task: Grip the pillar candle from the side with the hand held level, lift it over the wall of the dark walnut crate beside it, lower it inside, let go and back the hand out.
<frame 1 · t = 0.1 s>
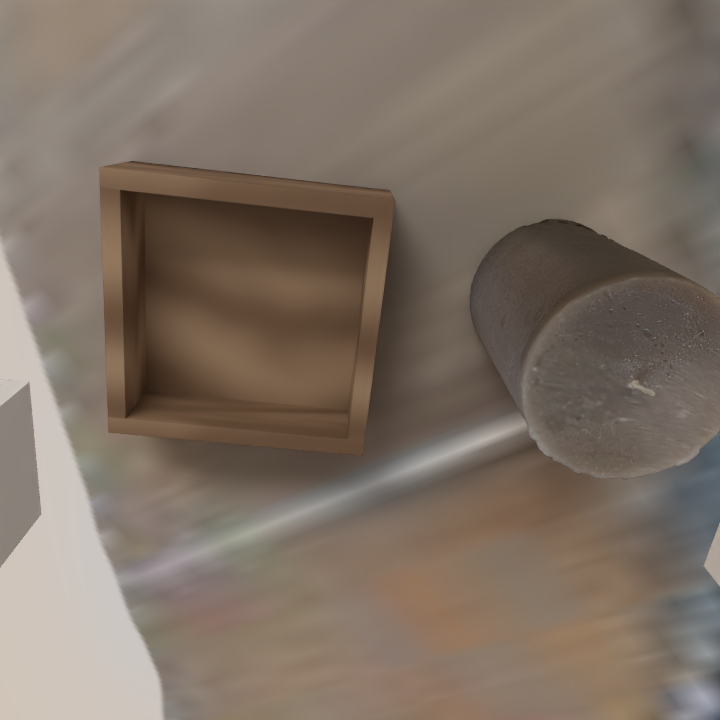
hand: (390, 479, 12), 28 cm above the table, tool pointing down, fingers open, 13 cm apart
pillar candle: (543, 297, 40), on the table
walnut crate: (255, 299, 39), on the table
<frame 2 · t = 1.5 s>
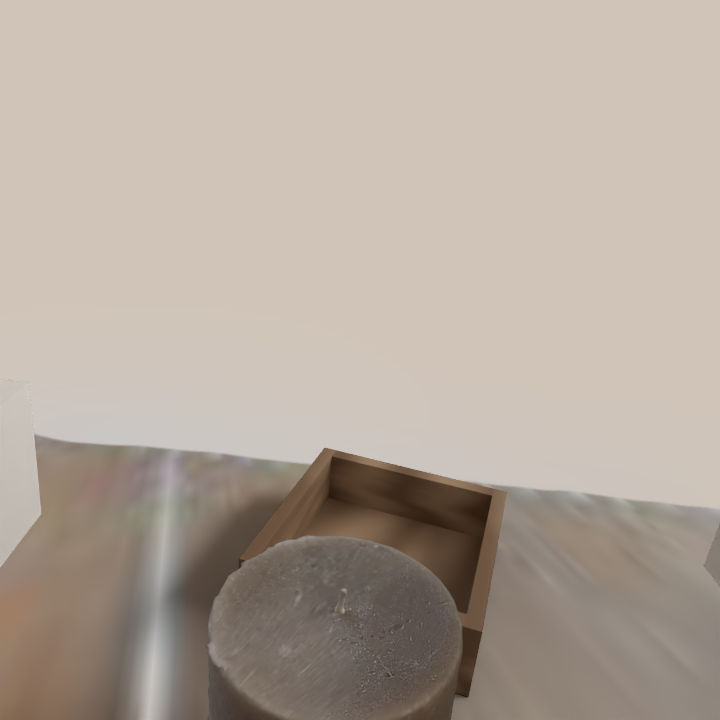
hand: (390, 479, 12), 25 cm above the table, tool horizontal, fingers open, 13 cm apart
walnut crate: (380, 578, 45), on the table
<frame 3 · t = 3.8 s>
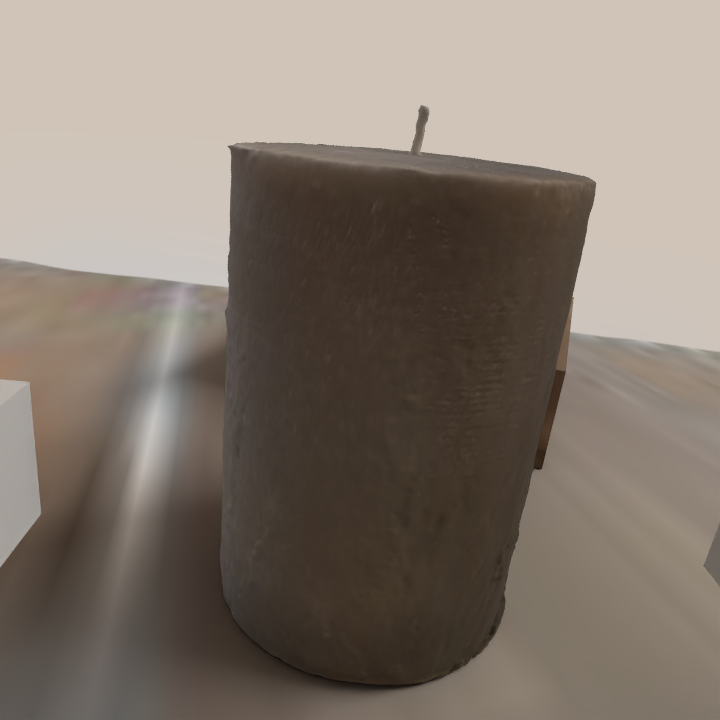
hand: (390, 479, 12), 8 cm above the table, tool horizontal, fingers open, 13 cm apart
pillar candle: (358, 574, 22), on the table
walnut crate: (425, 379, 38), on the table
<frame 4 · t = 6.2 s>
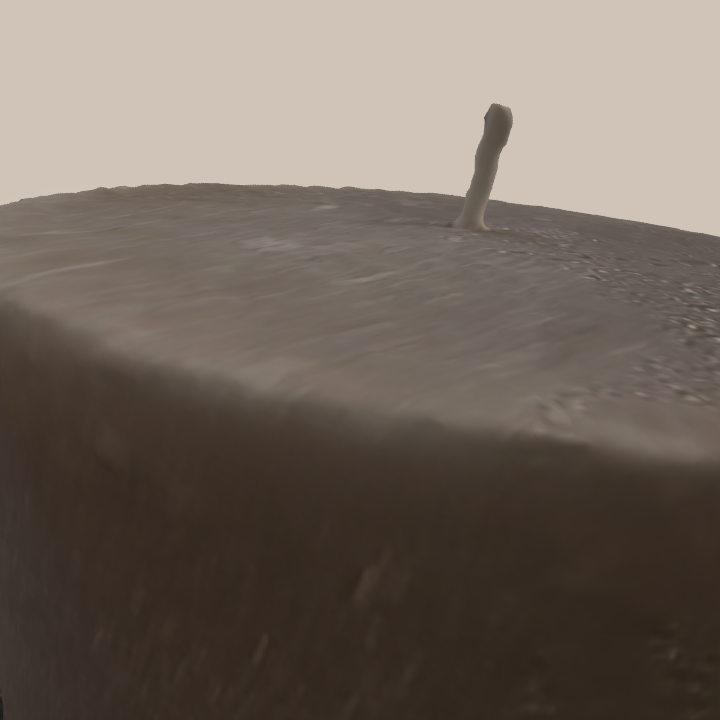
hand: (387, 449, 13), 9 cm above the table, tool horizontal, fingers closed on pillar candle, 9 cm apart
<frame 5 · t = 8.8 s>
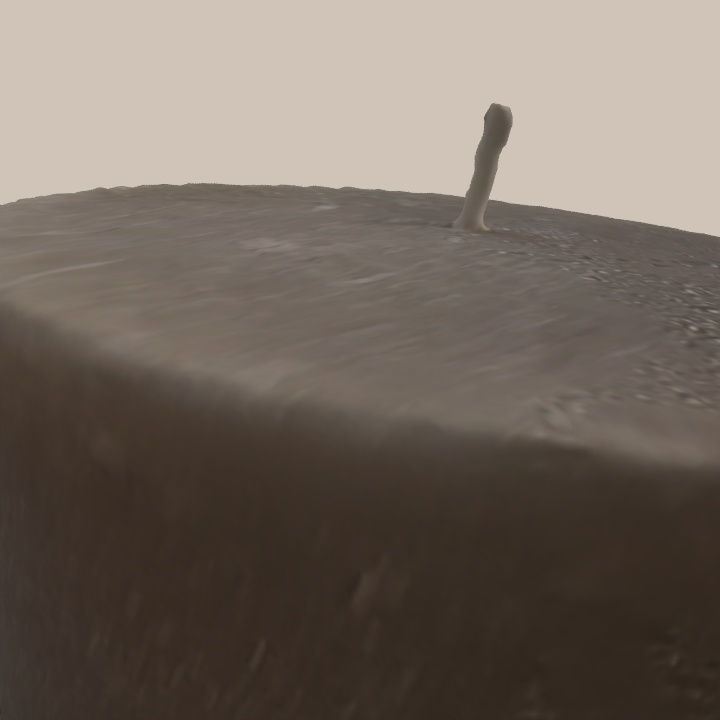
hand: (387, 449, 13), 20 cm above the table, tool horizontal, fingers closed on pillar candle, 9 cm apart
when the fingers open (11 cm above the table, at t = 11.8 s): pillar candle drops 1 cm, resting on walnut crate.
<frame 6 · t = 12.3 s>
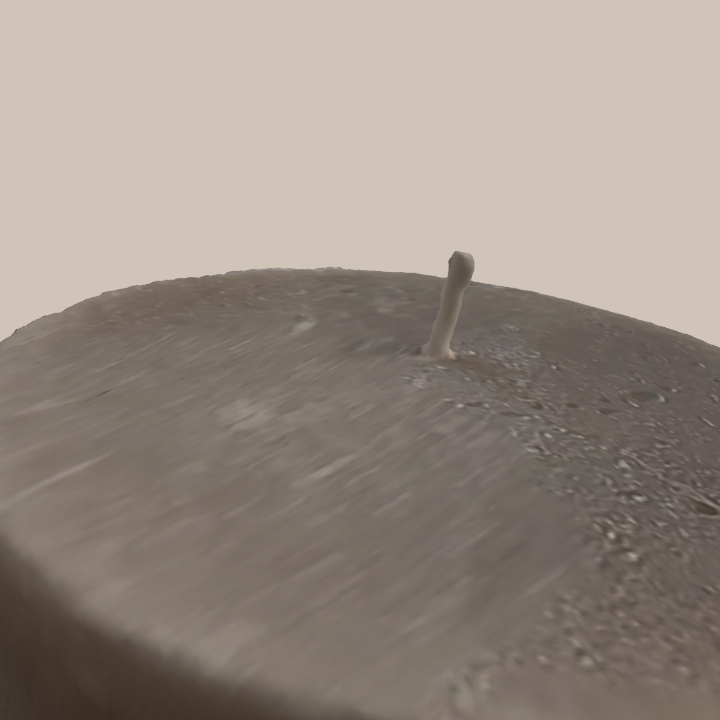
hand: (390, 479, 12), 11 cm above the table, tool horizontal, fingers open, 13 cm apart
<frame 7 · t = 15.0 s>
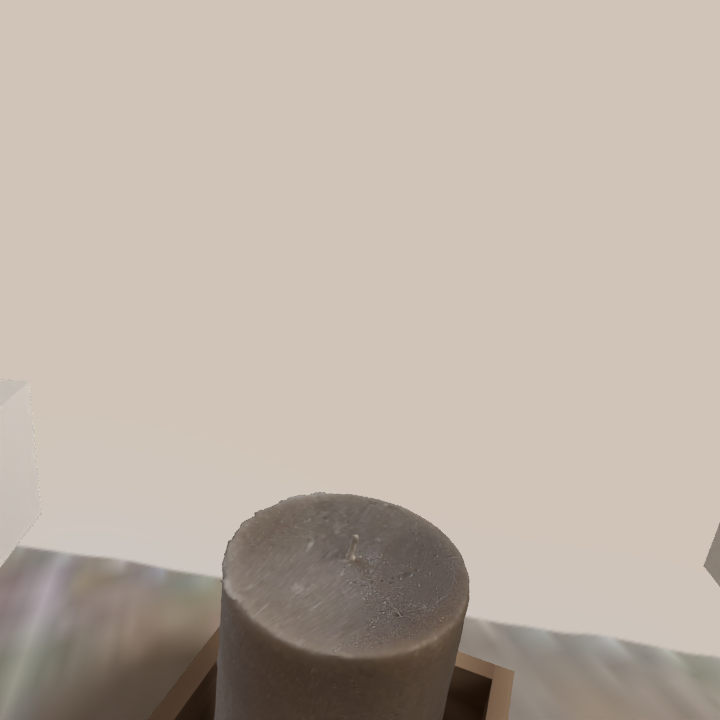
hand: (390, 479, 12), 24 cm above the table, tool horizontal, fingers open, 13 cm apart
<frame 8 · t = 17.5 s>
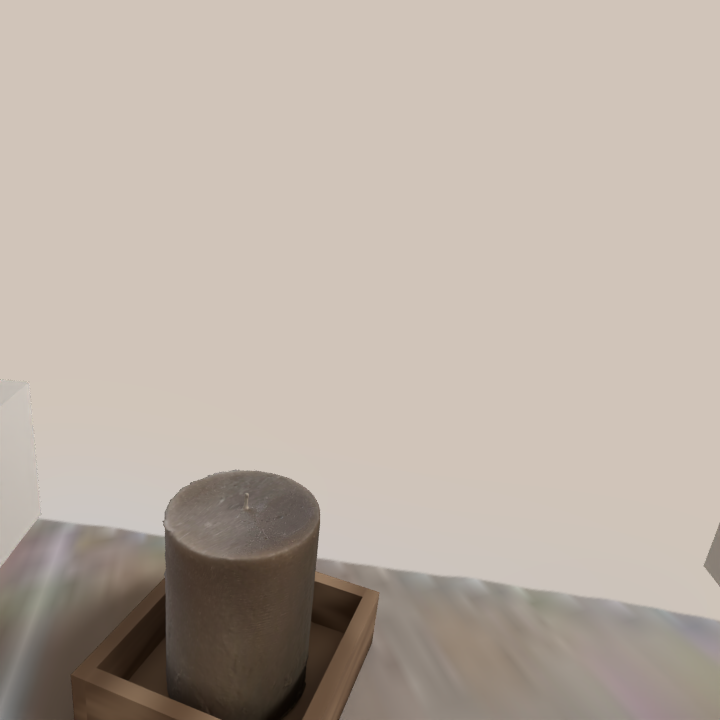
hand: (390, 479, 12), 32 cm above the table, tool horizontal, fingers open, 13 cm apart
pillar candle: (236, 675, 44), point 1 cm above the table, touching walnut crate
walnut crate: (239, 683, 44), on the table
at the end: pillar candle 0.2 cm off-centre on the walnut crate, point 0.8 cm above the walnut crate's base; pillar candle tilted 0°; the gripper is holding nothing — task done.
